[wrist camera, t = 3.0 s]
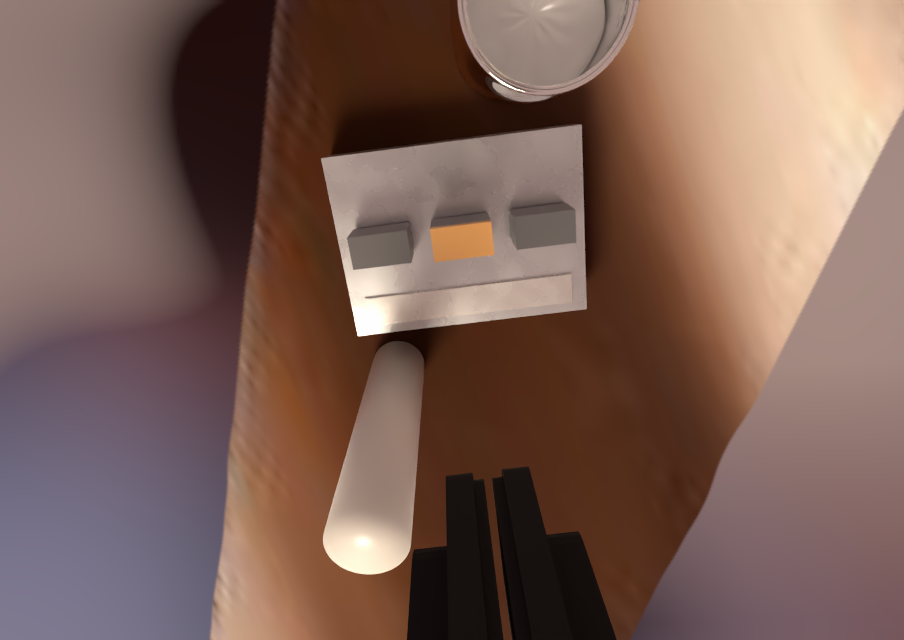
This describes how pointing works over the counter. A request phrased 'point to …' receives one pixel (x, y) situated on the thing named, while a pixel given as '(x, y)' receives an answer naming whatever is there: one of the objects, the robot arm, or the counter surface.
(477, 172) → the breaker panel
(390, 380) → the post
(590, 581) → the robot arm
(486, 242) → the paddle mid
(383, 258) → the grey rectangular box
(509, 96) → the beer glass
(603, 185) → the counter surface
